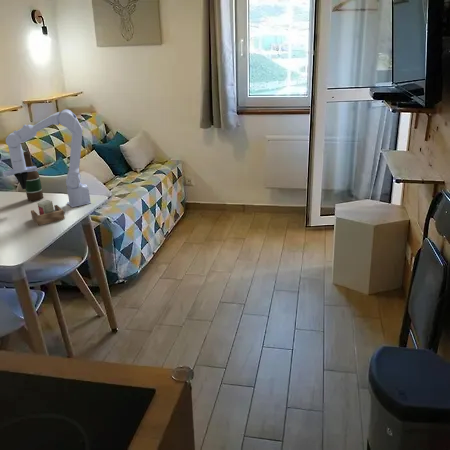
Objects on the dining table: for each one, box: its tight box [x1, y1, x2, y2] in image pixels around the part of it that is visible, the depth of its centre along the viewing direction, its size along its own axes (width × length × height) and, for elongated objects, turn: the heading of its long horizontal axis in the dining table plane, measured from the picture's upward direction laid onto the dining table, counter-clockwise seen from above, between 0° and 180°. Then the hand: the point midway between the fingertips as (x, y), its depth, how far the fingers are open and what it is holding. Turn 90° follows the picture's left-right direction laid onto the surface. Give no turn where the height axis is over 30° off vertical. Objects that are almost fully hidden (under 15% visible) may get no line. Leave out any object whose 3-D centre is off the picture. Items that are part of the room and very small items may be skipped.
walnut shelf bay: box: [30, 204, 66, 226], centre depth 213 cm, size 12×10×4 cm
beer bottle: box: [23, 150, 44, 202], centre depth 236 cm, size 8×8×24 cm
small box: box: [36, 199, 55, 215], centre depth 213 cm, size 5×4×8 cm
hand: (23, 188), depth 223 cm, fingers closed
